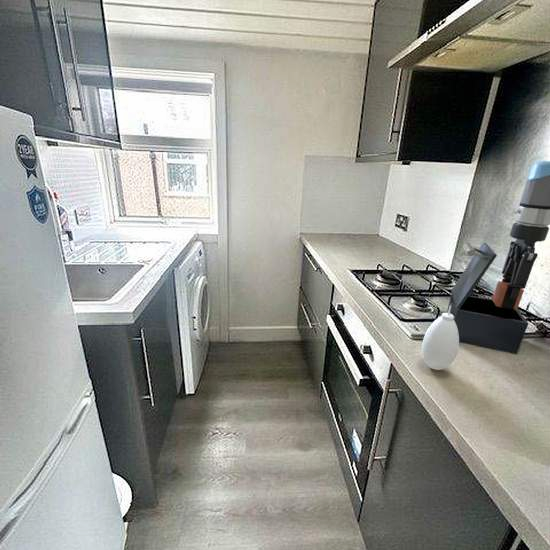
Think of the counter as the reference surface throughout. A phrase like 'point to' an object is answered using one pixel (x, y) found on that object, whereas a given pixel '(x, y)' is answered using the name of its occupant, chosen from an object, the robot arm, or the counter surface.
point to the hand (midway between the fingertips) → (504, 303)
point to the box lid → (472, 272)
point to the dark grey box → (488, 324)
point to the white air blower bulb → (441, 342)
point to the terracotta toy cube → (501, 292)
